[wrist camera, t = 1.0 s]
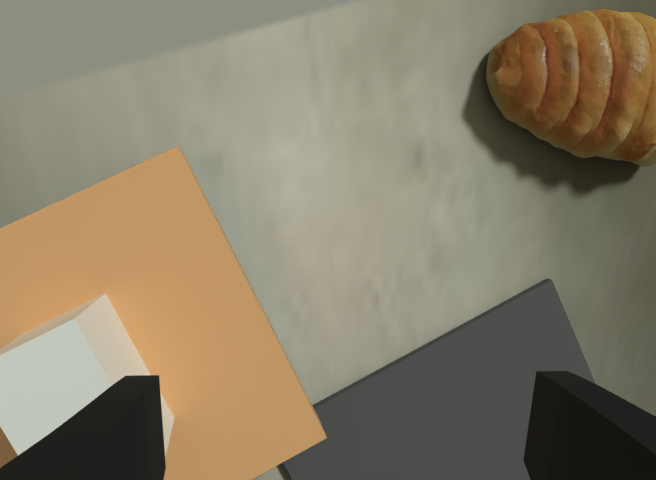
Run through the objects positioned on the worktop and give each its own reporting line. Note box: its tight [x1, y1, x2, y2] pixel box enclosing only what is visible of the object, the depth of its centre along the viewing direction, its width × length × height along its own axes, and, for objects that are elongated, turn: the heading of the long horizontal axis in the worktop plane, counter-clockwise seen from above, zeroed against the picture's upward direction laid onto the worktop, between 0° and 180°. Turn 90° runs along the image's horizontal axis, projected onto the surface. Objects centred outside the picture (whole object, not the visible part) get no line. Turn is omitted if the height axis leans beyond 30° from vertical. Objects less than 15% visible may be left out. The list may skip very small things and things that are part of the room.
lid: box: [0, 146, 327, 480], centre depth 18 cm, size 12×12×6 cm
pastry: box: [486, 9, 656, 166], centre depth 25 cm, size 9×7×4 cm
